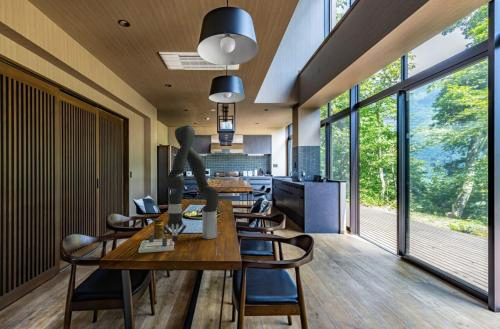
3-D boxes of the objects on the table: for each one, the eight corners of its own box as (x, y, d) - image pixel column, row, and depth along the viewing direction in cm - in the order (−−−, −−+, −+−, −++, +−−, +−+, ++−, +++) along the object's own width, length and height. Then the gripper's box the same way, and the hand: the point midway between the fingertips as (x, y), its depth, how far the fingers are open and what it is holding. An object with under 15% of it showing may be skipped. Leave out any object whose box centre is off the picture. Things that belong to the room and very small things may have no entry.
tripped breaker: (167, 244, 147) (167, 237, 147) (166, 245, 144) (166, 238, 144) (162, 244, 146) (162, 237, 146) (162, 245, 144) (162, 238, 144)
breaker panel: (174, 242, 159) (174, 238, 159) (173, 250, 143) (173, 246, 143) (142, 244, 154) (143, 240, 154) (138, 253, 138) (138, 249, 138)
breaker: (153, 240, 153) (153, 233, 154) (153, 241, 151) (153, 234, 151) (149, 240, 153) (149, 234, 153) (148, 242, 150) (148, 235, 150)
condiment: (165, 238, 167) (165, 219, 167) (151, 240, 162) (151, 221, 162) (162, 235, 173) (162, 217, 173) (149, 237, 168) (149, 219, 168)
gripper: (187, 210, 152) (186, 239, 152) (163, 210, 149) (163, 241, 149) (187, 212, 145) (187, 243, 145) (162, 213, 141) (162, 244, 141)
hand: (174, 242), depth 147 cm, fingers closed
